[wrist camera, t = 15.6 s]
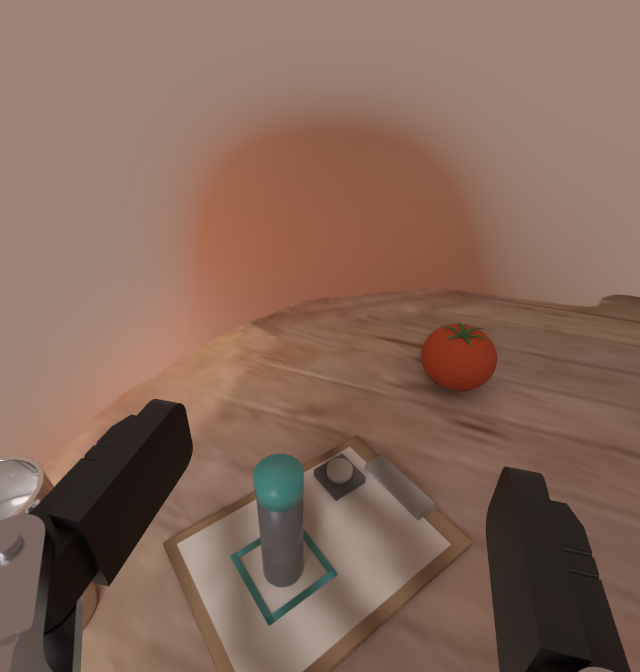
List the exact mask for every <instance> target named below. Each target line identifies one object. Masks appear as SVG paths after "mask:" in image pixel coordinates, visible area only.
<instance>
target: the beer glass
mask: <svg viewBox="0 0 640 672" xmlns="http://www.w3.org/2000/svg"><path fill="white" fill-rule="evenodd" d="M53 488H54V486H53V484H52V483H51V481H50V480H49V478H48V477H47V475H46V474H45V472H44V471H43V468H42V466H41V465H40V464H39V463H38V462H37V461H36V460H34V459H32V458H28V457H23V456H7V457H0V521H1V520H3V519H5V518H8V517H11V516H15V515H22V514H28V513H29V512H30V511H31V510H33V509H34V508H35V507H36V506H37V505H38V504H39V502H40V501H41V500H42V499H43V498H44V497H45V496H46V495H47V494H48V493H49V492H50V491H51V490H52V489H53ZM82 595H83V602H84V604H83V626H82V630H83V628H84V627H85V626H86V625H87V623H88V622H89V620H90V619H91V617H92V615H93V613H94V611H95V608H96V605H97V600H98V591H97V587H96V584H95V583H94V582H92V581H91V583H90V584H89V586H88V587H87V588H86V590H85V591H84V593H83V594H82Z"/></svg>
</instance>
